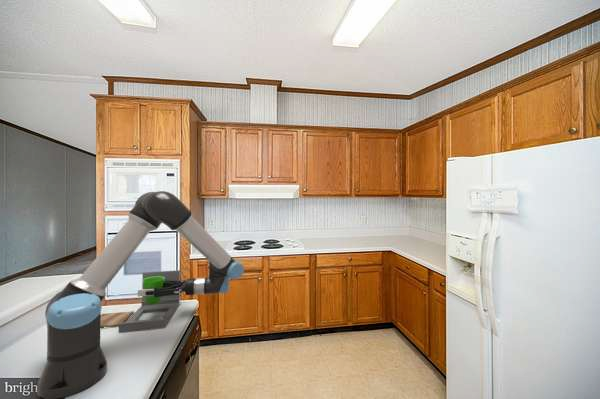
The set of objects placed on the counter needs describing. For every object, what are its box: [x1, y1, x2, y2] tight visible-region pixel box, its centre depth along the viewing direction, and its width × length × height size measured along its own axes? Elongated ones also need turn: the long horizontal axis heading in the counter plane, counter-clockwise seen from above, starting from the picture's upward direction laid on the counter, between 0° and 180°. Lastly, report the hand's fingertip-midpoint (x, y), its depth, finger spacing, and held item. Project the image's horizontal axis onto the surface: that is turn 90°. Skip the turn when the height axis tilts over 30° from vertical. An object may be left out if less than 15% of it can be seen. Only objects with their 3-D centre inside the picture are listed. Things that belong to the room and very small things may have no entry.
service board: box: [100, 311, 135, 329], centre depth 110 cm, size 13×13×1 cm
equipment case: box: [118, 269, 181, 333], centre depth 114 cm, size 17×25×18 cm
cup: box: [141, 276, 165, 305], centre depth 114 cm, size 9×9×11 cm
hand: (142, 289), depth 113 cm, fingers closed on cup, 9 cm apart
